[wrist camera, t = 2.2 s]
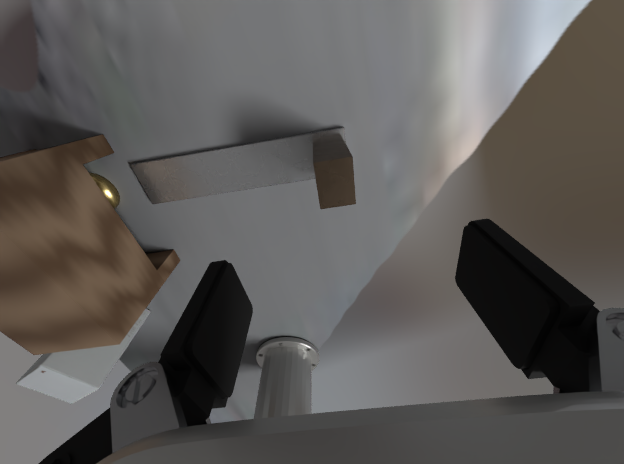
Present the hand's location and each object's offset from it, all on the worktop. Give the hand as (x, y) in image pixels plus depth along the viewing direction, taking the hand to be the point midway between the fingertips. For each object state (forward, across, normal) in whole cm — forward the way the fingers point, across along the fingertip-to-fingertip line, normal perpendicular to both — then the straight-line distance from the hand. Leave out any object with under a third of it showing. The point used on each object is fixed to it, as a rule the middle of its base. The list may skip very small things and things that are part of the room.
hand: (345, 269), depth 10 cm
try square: (+21, +10, 0) cm, 23 cm away
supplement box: (+21, +39, +20) cm, 48 cm away
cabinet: (+20, +29, +3) cm, 35 cm away
